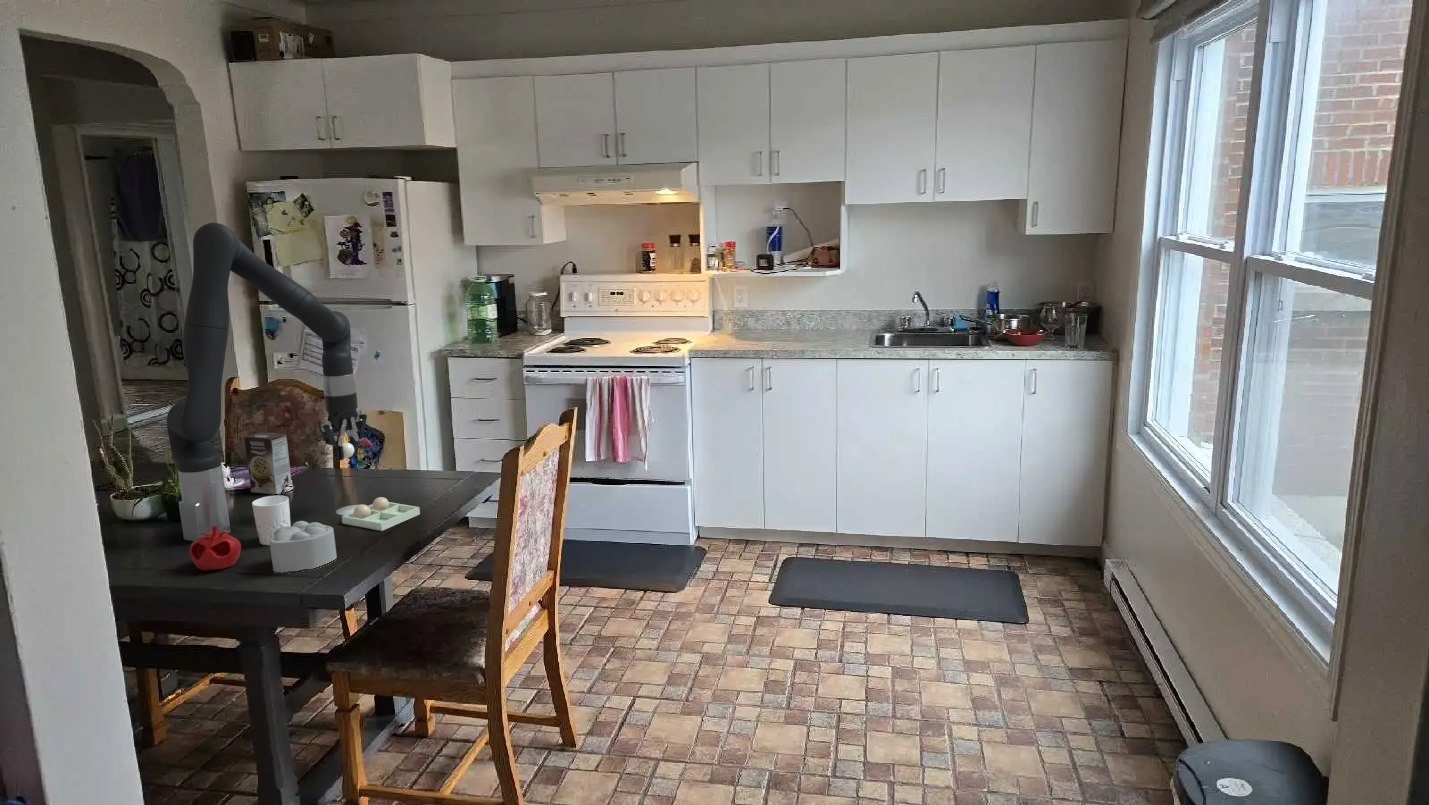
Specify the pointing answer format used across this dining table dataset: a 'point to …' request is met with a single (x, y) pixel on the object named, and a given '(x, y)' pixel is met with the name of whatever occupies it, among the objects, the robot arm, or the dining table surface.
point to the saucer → (346, 510)
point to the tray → (380, 514)
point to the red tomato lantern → (215, 550)
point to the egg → (347, 449)
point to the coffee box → (268, 462)
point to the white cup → (270, 515)
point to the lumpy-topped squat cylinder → (302, 546)
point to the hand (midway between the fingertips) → (346, 457)
